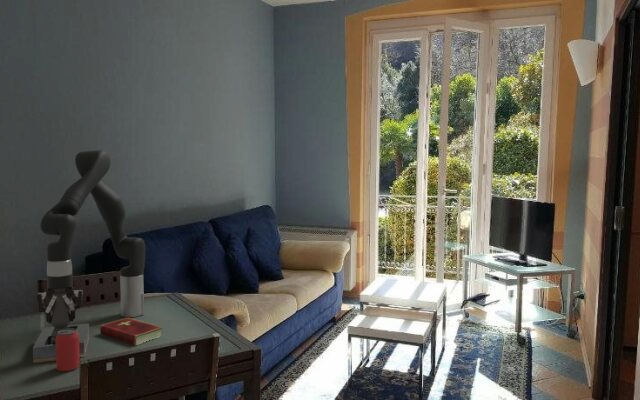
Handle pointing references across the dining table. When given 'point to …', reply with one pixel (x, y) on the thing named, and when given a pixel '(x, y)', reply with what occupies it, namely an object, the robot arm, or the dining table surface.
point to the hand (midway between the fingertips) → (61, 321)
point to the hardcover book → (131, 331)
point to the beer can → (67, 350)
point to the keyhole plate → (47, 350)
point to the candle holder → (59, 313)
